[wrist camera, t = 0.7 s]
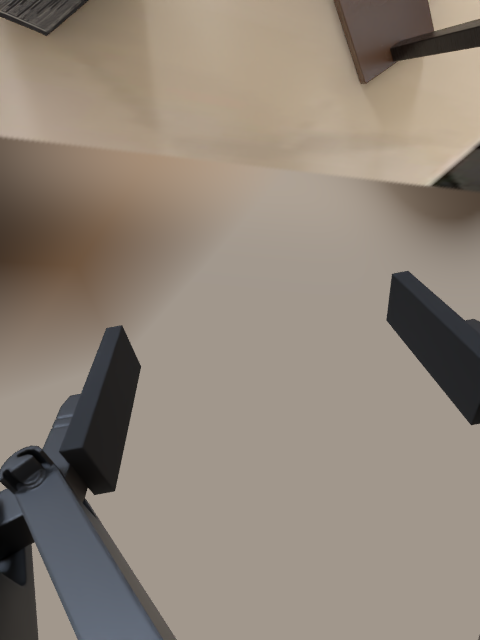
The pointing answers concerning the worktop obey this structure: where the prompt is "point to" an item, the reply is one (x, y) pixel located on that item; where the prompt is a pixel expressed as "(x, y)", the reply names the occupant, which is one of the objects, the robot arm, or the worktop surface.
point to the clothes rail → (397, 33)
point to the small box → (39, 12)
